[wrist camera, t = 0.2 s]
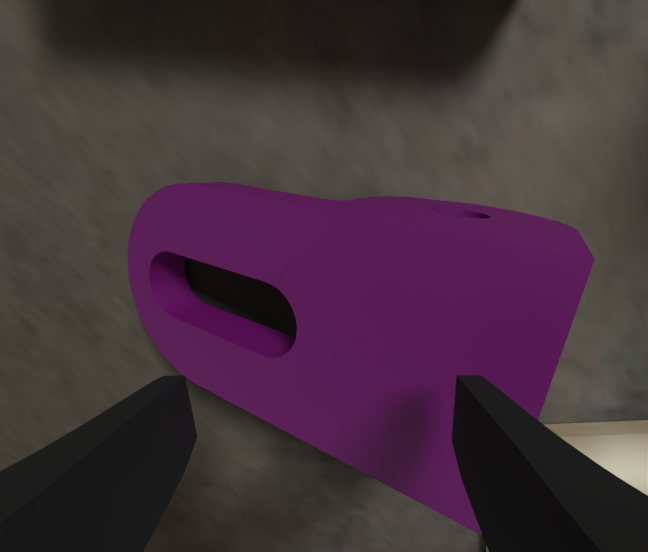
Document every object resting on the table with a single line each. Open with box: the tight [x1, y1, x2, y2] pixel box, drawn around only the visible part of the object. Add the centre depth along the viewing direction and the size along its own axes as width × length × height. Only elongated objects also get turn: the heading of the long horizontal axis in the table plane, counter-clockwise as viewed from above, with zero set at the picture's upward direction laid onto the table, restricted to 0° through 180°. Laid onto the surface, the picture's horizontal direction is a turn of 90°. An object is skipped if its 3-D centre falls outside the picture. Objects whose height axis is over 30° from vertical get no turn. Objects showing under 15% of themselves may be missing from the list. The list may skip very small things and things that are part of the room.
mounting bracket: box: [128, 182, 594, 535], centre depth 18 cm, size 9×8×18 cm
